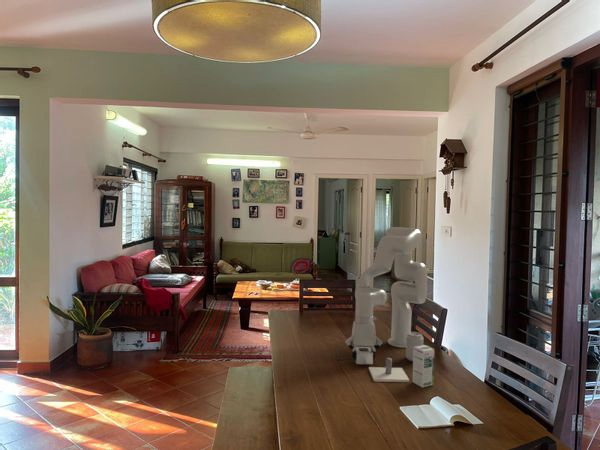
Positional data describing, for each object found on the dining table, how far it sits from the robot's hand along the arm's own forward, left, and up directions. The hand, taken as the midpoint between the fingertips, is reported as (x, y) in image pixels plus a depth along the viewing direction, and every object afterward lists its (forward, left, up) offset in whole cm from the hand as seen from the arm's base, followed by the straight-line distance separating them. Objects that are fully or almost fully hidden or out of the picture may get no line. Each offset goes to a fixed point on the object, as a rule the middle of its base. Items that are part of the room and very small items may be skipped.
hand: (363, 359), depth 182 cm
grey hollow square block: (0, 0, -1) cm, 1 cm away
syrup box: (-20, +19, -3) cm, 28 cm away
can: (-24, -7, -3) cm, 26 cm away
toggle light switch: (-8, +12, -2) cm, 15 cm away
